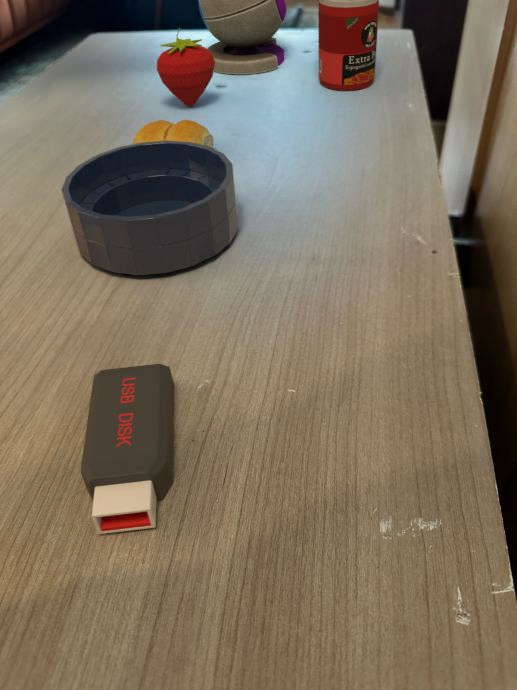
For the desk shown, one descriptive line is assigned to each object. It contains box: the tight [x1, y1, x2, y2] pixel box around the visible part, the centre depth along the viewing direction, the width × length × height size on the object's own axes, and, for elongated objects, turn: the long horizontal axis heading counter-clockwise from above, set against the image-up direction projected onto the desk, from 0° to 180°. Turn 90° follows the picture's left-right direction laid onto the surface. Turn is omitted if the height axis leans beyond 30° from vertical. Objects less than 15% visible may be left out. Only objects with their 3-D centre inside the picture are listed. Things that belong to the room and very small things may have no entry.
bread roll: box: [132, 119, 215, 149], centre depth 73 cm, size 8×9×4 cm
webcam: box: [197, 0, 288, 76], centre depth 94 cm, size 13×13×15 cm
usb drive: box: [80, 363, 175, 535], centre depth 40 cm, size 5×12×3 cm, turn 6°
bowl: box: [61, 141, 239, 276], centre depth 60 cm, size 15×15×6 cm
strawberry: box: [156, 27, 215, 108], centre depth 83 cm, size 6×8×10 cm
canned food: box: [317, 0, 380, 92], centre depth 86 cm, size 8×8×11 cm
